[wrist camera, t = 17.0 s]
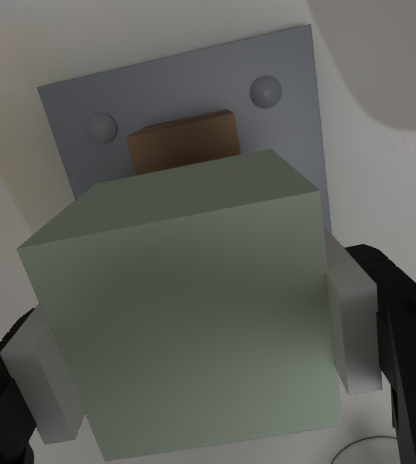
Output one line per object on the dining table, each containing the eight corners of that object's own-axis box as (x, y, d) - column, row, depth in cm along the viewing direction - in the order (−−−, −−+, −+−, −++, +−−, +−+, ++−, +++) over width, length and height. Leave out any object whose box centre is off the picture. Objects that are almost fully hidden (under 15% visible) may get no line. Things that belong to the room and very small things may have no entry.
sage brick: (141, 330, 16) (105, 461, 10) (95, 183, 14) (17, 248, 8) (292, 303, 15) (342, 425, 10) (271, 148, 13) (320, 190, 7)
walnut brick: (179, 259, 25) (172, 306, 20) (145, 126, 22) (125, 137, 17) (251, 245, 25) (264, 289, 19) (226, 109, 22) (234, 113, 16)
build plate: (120, 308, 28) (115, 320, 27) (45, 87, 23) (34, 87, 21) (330, 269, 27) (337, 278, 26) (305, 27, 22) (312, 22, 20)
